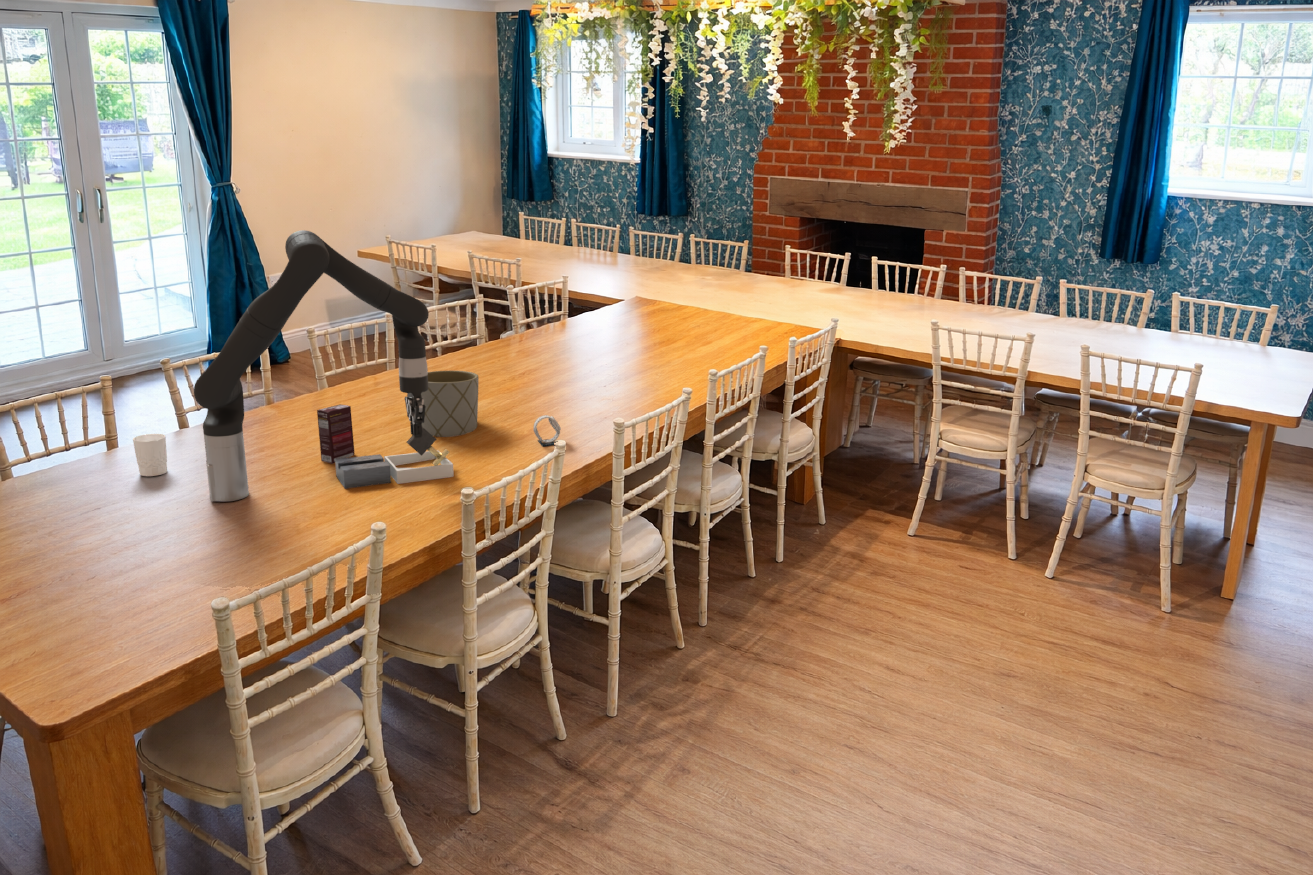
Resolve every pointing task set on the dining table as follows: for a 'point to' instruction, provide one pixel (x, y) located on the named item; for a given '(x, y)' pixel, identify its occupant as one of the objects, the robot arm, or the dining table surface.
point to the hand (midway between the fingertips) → (416, 435)
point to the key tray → (418, 473)
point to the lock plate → (362, 471)
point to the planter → (451, 403)
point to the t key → (427, 446)
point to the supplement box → (335, 433)
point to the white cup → (151, 454)
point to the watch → (554, 424)
